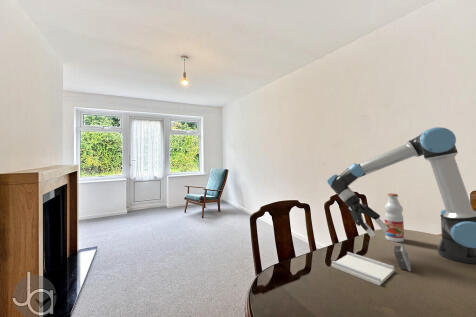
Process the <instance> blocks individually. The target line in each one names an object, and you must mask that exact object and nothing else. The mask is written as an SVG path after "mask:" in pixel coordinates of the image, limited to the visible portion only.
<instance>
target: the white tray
mask: <svg viewBox="0 0 476 317" xmlns="http://www.w3.org/2000/svg"><path fill="white" fill-rule="evenodd" d="M330 267H331V268H334V269H336V270H338V271H342V272H344V273H347V274H348V275H351V276H354V277H356V278H359V279H362V280H364V281H366V282H368V283H371V284H373V285H374V284H375V285H377V286H381V285H382V284H383V283H384V282H385V281H387V279H388V278H390V277H391V276H392V275H393V274H394V273H395V271H396V269H395V266H394V265H391V264H388V263H385V262H382V261H378V260H376V259H372V258H370V257H366V256H363V255H360V254H356V253H352V252H350V251H346V255H344V256H342V257H341V258H339V259H337V260H336V261H335V260H331V264H330Z"/></svg>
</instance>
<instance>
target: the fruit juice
mask: <svg viewBox="0 0 476 317" xmlns="http://www.w3.org/2000/svg"><path fill="white" fill-rule="evenodd" d="M387 196H388V198H387V201H386V203H385V205H384V211H385V212H384V224H385V225H386V226H387V227H388V228H389V229H388V230H387V231H385V232H384V237H385V239H386V240H388V241H390V242H396V243H403V242H404V241H405V226H404V216H403V211H404V210H403V206H402V205H401V204H400V201H399V198H398V197H399V196H398V193H392V192H391V193H387Z"/></svg>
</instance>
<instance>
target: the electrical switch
mask: <svg viewBox="0 0 476 317" xmlns="http://www.w3.org/2000/svg"><path fill="white" fill-rule="evenodd" d="M393 253H394V256H395V258H396V261H397V264H398V267H399V269H400V270H407V271H408V272H411V271H412V264H411V260H410V257H409V253H408V251H407V249H406V248H405V245H404V243H401V244H400V245H394V248H393Z"/></svg>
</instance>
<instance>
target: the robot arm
mask: <svg viewBox="0 0 476 317" xmlns="http://www.w3.org/2000/svg"><path fill="white" fill-rule="evenodd" d="M456 142H457V137H456V134H455V133H454V132H453V131H452V130H450V129H448V128H446V127H440V126H436V127H431V128H429V129H426V130H424V131H423V132H422V133H420V134H419V135H417V136H416V137H414V138H412V139H410V140H407V141H406V144H403V145H400V146H397V147H396V148H394V149H391V150H389V151H386V152H384V153H382V154H379V155H377V156H375V157H373V158H370V159H367V160H365V161H363V162H360V163H353V164H351V165H349V166H348V167H347V168H346V169H345V170H344V171H342V172H341V173H340V174H333V175H332V176H330V177H329V178H328V179H327V181H326V182H327V184H328V185H329V187H330V189H332V190H333V191H334V192H335V194H336V195H337V196H338V197H339V198H340V200H342V201H343V202H344V204H345V205H346V207H347V210H348V211H349V214H350V215H351V217H352V219H353V221H354V224H355V225H356V226H358V227H360V226H361V227H362V229H363V230H364V231H365V232H366V234H368V236H369V237H370V238H372V237H374V236H375V235H376V232H374V230H373V229H372V228H371V227H370V225H368V224H367V222H365V221H364V218H363V215H366V216H368V217H369V218H371V219H373V220H374V222H375V223H376V224H377V225H378V226H379V228H380V229H381V230H382V231H383V232H384V233H385V231H387V230H388V229H389V228H388V227H387V226H386V225H385V222H383V220H382V219H381V215H380V214H379V213H378V212H376V211H375V210H374V209H372V208H371V207H369V206H368V205H367V204H366V203H365V202H363V203H361V198H359V196H358V195H356V193H355V192H354V191H353V190H352V189H351V188H350V186H351V184H353V183H354V182H356V180H358V179H359V178H362V177H365V176H367V175H369V174H372V173H375V172H377V171H380V170H382V169H385V168H387V167H391V166H393V165H395V164H397V163H400V162H403V161H406V160H409V159H410V158H413V157H416V158H417V157H421V156H423V158H424V160H426V161H428V162H429V163H430V165H431V169H432V172H433V175H434V178H435V181H436V184H437V187H438V190H439V193H440V196H441V199H442V202H443V205H444V208H445V209H442V210H441V211H440V215H439V216H440V227H441V228H440V229H441V232H440V233H441V239H440V242H439V243H438V246H437V254H439V255H440V256H441V257H443V258H445V259H448V260H452V261H455V262H460V263H465V264H476V210H474V209H473V206H472V203H471V201H470V198H469V195H468V192H467V189H466V187H465V184H464V181H463V177H462V175H461V172H460V169H459V167H458V164H457V160H456V156H457V155H458V154H459V153H458V150H457V147H456ZM362 214H363V215H362Z"/></svg>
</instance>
